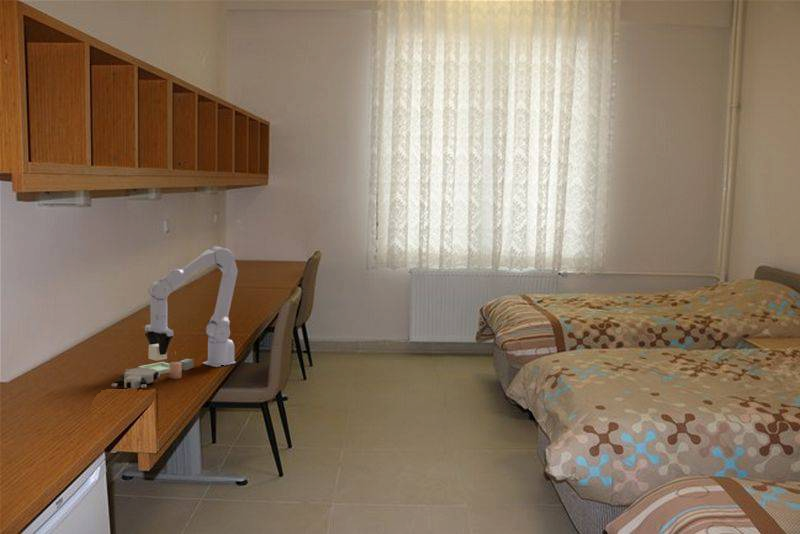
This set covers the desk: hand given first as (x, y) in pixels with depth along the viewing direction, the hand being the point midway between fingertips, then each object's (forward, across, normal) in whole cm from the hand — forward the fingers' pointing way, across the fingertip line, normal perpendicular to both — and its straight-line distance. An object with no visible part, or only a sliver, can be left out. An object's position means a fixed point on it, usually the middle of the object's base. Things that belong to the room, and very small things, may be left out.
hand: (158, 353), depth 254 cm
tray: (+6, 0, 0) cm, 6 cm away
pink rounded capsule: (+6, +12, -2) cm, 14 cm away
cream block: (+2, 0, 0) cm, 2 cm away
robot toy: (+7, +12, -16) cm, 21 cm away
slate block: (+6, +4, +9) cm, 12 cm away
